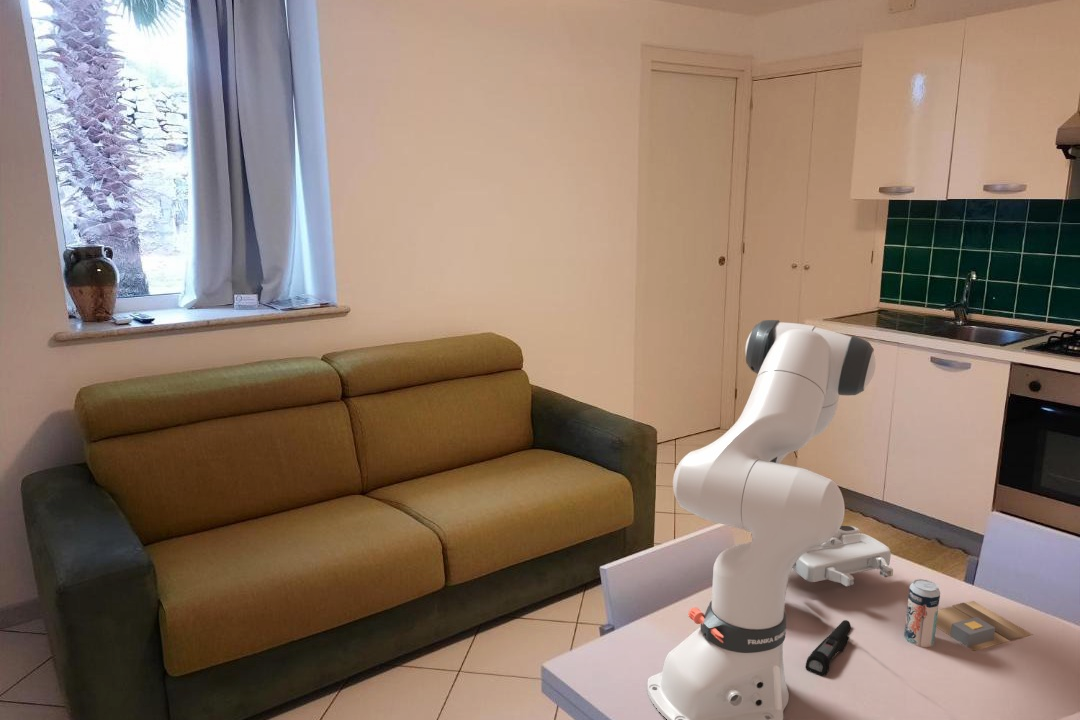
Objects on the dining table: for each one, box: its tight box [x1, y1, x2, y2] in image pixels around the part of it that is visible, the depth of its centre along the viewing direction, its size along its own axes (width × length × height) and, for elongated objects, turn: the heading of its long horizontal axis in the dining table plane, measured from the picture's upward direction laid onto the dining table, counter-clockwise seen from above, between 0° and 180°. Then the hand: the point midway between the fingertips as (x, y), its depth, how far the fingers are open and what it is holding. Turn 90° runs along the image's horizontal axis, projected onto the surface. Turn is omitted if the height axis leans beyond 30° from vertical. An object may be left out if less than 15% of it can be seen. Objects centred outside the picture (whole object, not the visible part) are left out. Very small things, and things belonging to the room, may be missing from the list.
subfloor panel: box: [936, 600, 1033, 652], centre depth 137 cm, size 14×12×2 cm
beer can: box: [903, 578, 941, 648], centre depth 132 cm, size 5×5×12 cm
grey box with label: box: [949, 617, 995, 648], centre depth 133 cm, size 6×4×3 cm, turn 110°
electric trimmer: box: [805, 619, 852, 677], centre depth 131 cm, size 4×16×3 cm, turn 140°
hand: (870, 577), depth 143 cm, fingers open, 8 cm apart
